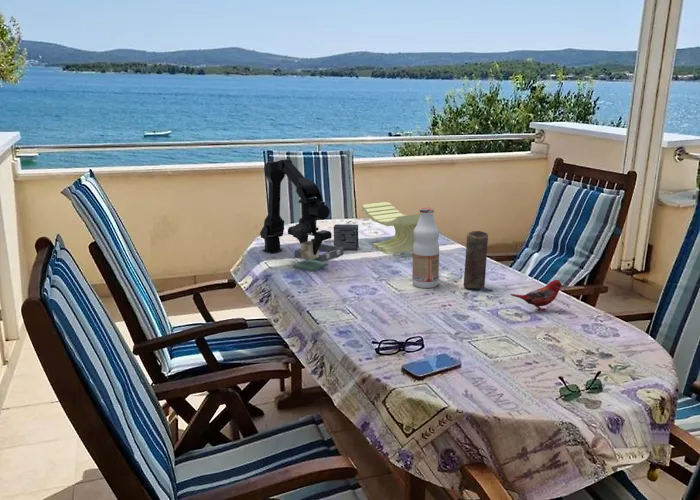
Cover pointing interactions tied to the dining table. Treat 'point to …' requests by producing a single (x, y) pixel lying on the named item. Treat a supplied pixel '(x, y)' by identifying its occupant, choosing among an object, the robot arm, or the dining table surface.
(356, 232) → the small box
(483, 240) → the candle
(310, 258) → the block
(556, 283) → the decorative bird figurine
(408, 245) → the slatted curved stool
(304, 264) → the mat
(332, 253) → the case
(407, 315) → the dining table surface
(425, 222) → the fruit juice
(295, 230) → the robot arm
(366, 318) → the dining table surface
